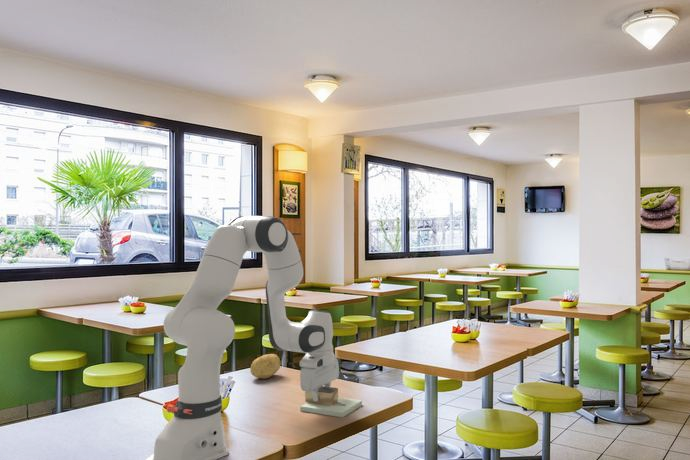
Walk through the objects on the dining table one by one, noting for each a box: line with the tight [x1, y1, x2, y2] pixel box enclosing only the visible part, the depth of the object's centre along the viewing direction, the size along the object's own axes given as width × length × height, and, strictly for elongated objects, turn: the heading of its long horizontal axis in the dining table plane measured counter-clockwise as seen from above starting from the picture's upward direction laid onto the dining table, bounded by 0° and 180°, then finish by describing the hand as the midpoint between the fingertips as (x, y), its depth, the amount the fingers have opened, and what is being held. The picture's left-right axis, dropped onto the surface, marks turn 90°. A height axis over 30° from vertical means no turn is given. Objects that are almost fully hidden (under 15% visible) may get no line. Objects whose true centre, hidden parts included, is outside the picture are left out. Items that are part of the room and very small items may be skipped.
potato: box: [249, 353, 281, 379], centre depth 229 cm, size 10×14×10 cm
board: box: [299, 396, 363, 418], centre depth 187 cm, size 14×16×2 cm
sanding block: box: [304, 385, 339, 405], centre depth 189 cm, size 5×10×4 cm, turn 62°
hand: (321, 398), depth 189 cm, fingers closed on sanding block, 5 cm apart
